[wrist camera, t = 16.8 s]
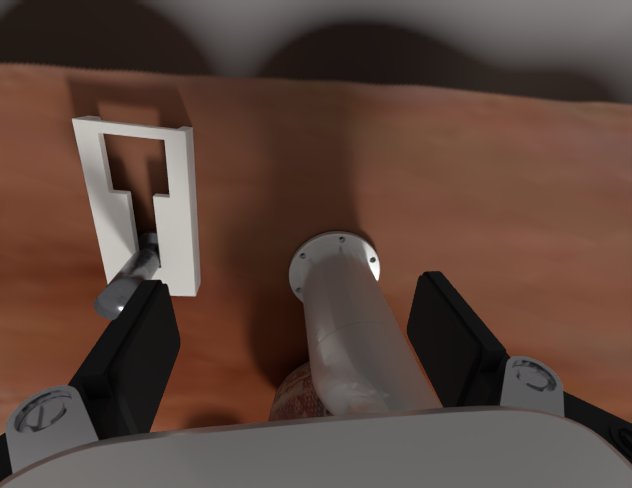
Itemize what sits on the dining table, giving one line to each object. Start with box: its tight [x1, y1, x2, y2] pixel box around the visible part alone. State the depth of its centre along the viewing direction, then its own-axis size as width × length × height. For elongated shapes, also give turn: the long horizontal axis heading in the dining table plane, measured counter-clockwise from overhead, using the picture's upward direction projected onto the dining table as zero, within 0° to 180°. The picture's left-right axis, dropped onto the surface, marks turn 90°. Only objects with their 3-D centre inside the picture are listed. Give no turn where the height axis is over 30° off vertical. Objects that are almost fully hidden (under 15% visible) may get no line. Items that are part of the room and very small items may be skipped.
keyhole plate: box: [72, 115, 201, 296], centre depth 35 cm, size 20×10×3 cm, turn 173°
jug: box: [269, 361, 334, 421], centre depth 43 cm, size 22×21×25 cm
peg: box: [94, 229, 161, 320], centre depth 33 cm, size 4×4×12 cm
